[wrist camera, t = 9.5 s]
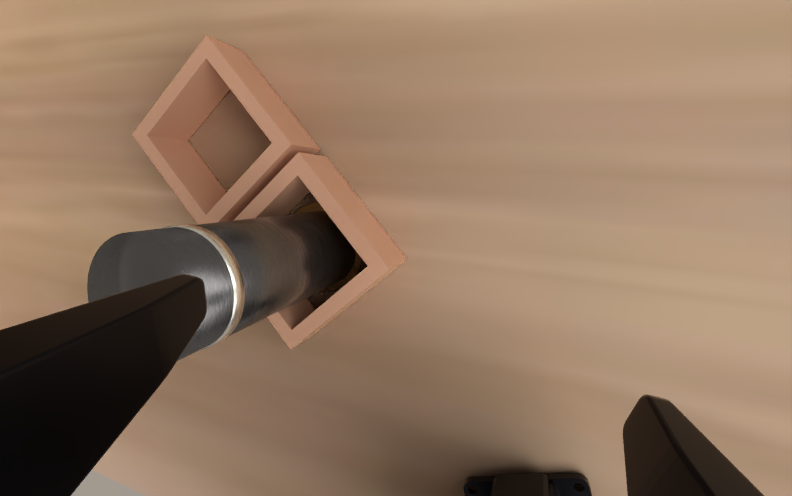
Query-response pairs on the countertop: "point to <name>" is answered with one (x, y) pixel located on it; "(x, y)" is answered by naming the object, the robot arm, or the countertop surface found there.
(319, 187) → the collar
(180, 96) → the collar
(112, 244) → the tube
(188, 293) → the robot arm
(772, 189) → the countertop surface
